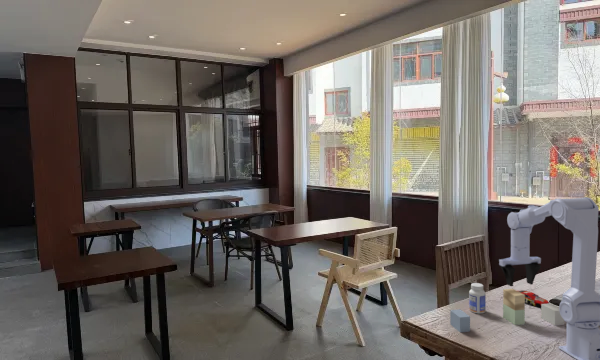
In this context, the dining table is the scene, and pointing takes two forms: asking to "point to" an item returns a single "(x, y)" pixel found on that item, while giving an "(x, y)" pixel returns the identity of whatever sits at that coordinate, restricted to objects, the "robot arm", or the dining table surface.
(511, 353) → the dining table surface
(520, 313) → the sage brick
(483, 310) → the pill bottle
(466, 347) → the dining table surface
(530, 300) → the race car
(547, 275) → the dining table surface
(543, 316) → the grey brick
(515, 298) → the oak brick
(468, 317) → the slate-blue brick
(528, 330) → the dining table surface
